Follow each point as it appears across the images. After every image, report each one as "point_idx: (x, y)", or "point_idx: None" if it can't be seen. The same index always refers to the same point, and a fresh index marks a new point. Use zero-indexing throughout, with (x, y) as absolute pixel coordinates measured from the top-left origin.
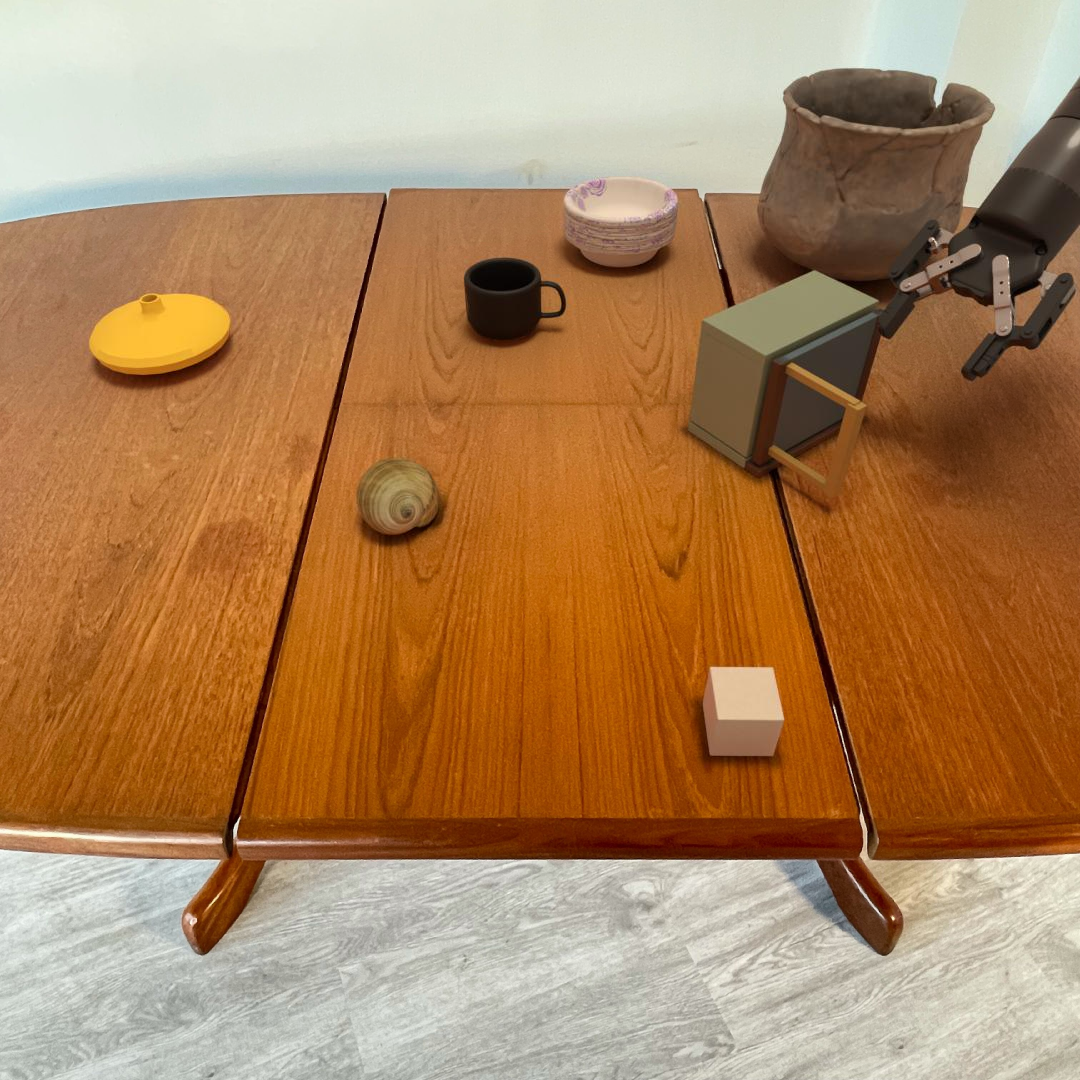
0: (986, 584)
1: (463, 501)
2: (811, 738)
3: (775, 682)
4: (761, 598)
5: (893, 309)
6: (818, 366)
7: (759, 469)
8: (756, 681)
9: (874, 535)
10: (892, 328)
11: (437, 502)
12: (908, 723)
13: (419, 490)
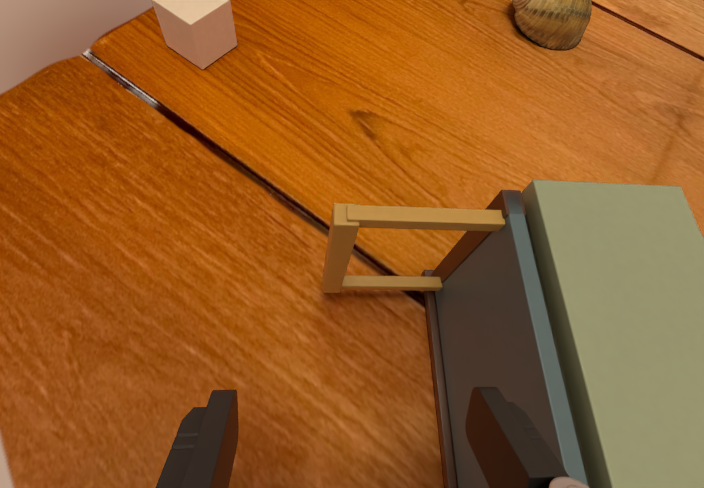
0: (105, 340)
1: (533, 59)
2: (152, 72)
3: (178, 16)
4: (281, 145)
5: (515, 426)
6: (502, 324)
7: (428, 273)
8: (191, 8)
9: (259, 302)
10: (477, 427)
11: (534, 29)
12: (92, 128)
13: None
